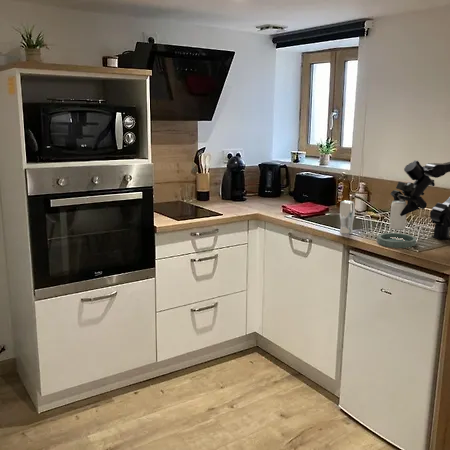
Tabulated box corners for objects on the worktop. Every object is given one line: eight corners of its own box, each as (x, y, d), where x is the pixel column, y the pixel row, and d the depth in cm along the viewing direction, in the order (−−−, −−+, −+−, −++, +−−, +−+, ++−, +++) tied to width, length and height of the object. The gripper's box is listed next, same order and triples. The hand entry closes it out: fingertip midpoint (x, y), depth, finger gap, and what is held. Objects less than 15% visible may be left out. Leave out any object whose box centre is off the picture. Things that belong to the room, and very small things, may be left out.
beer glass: (340, 230, 246) (341, 200, 242) (354, 231, 243) (356, 201, 240) (337, 233, 240) (338, 202, 236) (352, 234, 237) (354, 203, 234)
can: (395, 225, 226) (397, 199, 223) (408, 228, 221) (410, 201, 218) (386, 228, 222) (388, 201, 219) (399, 230, 217) (401, 203, 214)
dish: (397, 236, 233) (397, 231, 233) (424, 245, 219) (424, 239, 218) (369, 240, 227) (370, 235, 226) (396, 249, 212) (396, 244, 212)
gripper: (395, 172, 226) (372, 198, 225) (422, 177, 208) (398, 206, 208) (409, 188, 230) (387, 214, 229) (437, 195, 212) (413, 222, 212)
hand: (395, 213), depth 219 cm, fingers closed on can, 6 cm apart
